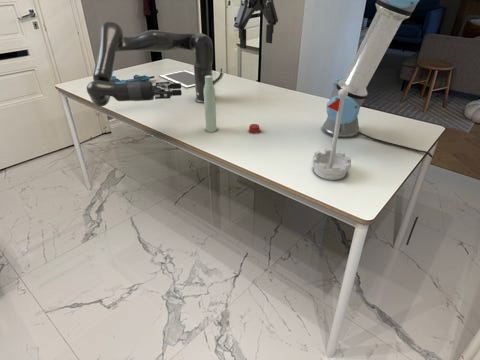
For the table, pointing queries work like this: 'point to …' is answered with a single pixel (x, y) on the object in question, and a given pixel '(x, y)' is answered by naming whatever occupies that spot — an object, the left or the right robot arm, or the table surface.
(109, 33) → the left robot arm
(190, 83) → the tablet
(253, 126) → the cap
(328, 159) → the flag stand
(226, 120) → the table surface
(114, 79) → the submachine gun
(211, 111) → the bottle
